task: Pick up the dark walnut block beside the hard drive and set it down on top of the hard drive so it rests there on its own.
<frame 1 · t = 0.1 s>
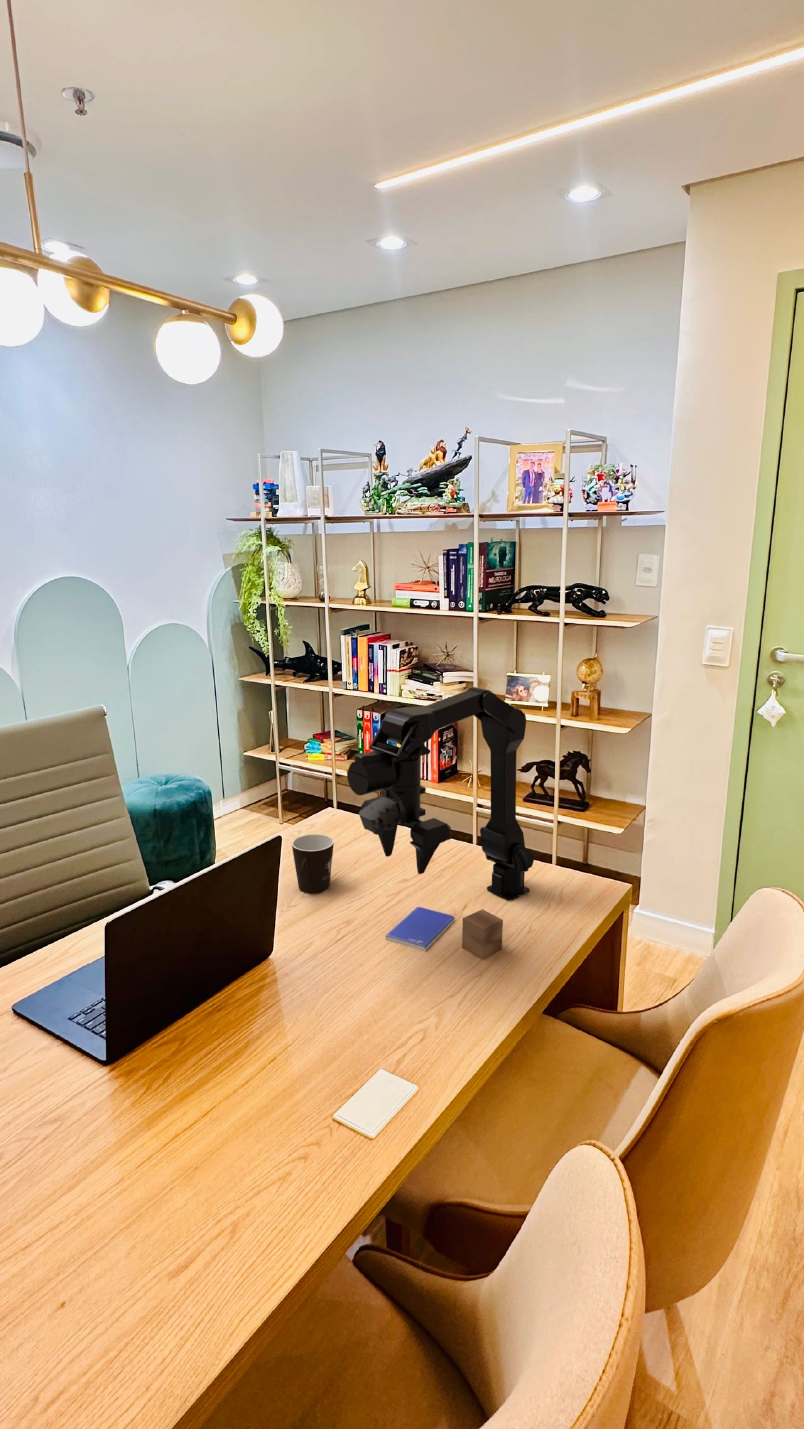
hand: (404, 864, 139), 15 cm above the table, tool pointing down, fingers open, 9 cm apart
hard drive: (420, 933, 145), on the table
walnut block: (481, 949, 139), on the table
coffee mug: (309, 890, 161), on the table
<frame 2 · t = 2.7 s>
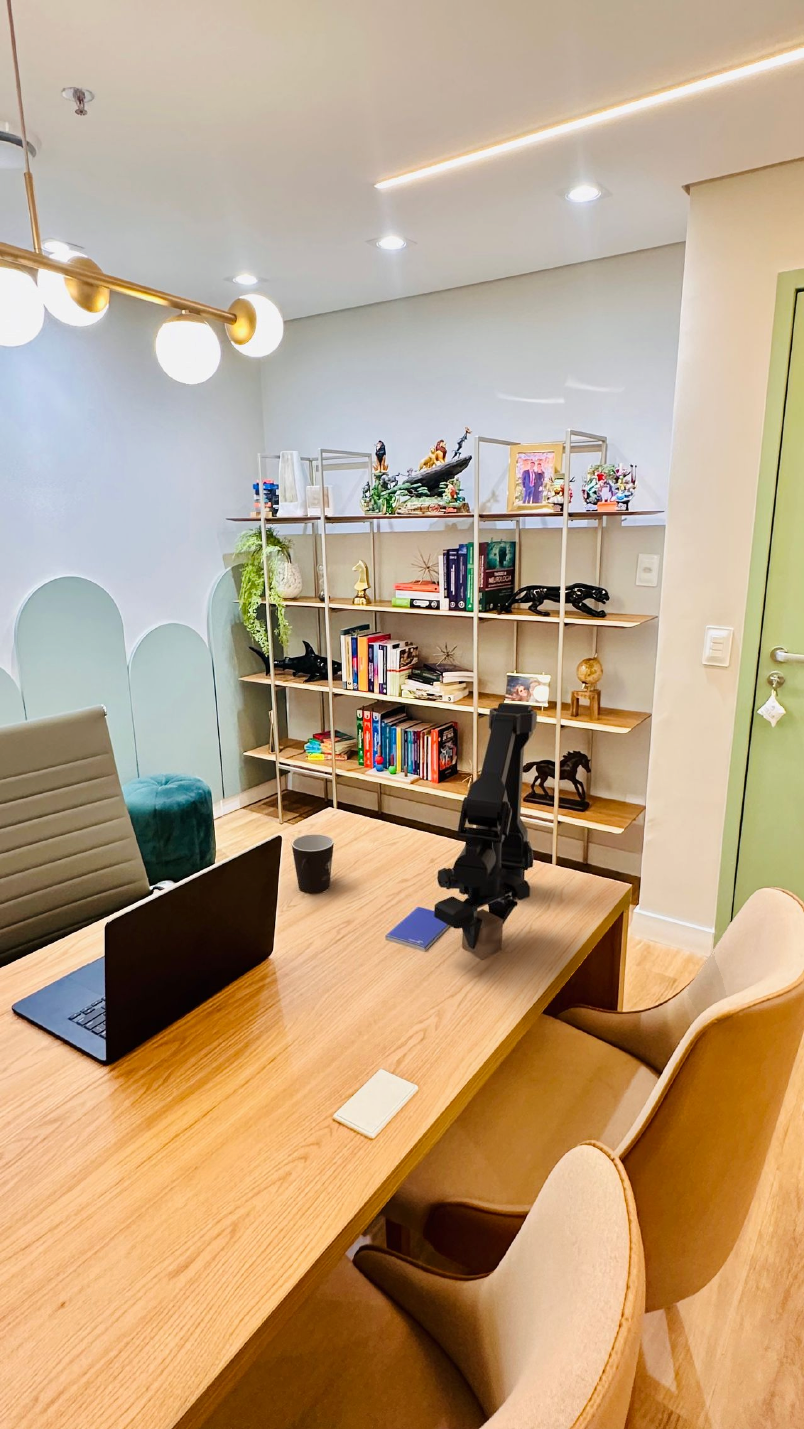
hand: (482, 942, 138), 1 cm above the table, tool pointing down, fingers closed on walnut block, 5 cm apart
walnut block: (482, 948, 139), on the table, touching gripper
everything else where it was.
when the fingers open (4 cm above the table, at t = 7.0 s): walnut block drops 2 cm, point 1 cm above the table.
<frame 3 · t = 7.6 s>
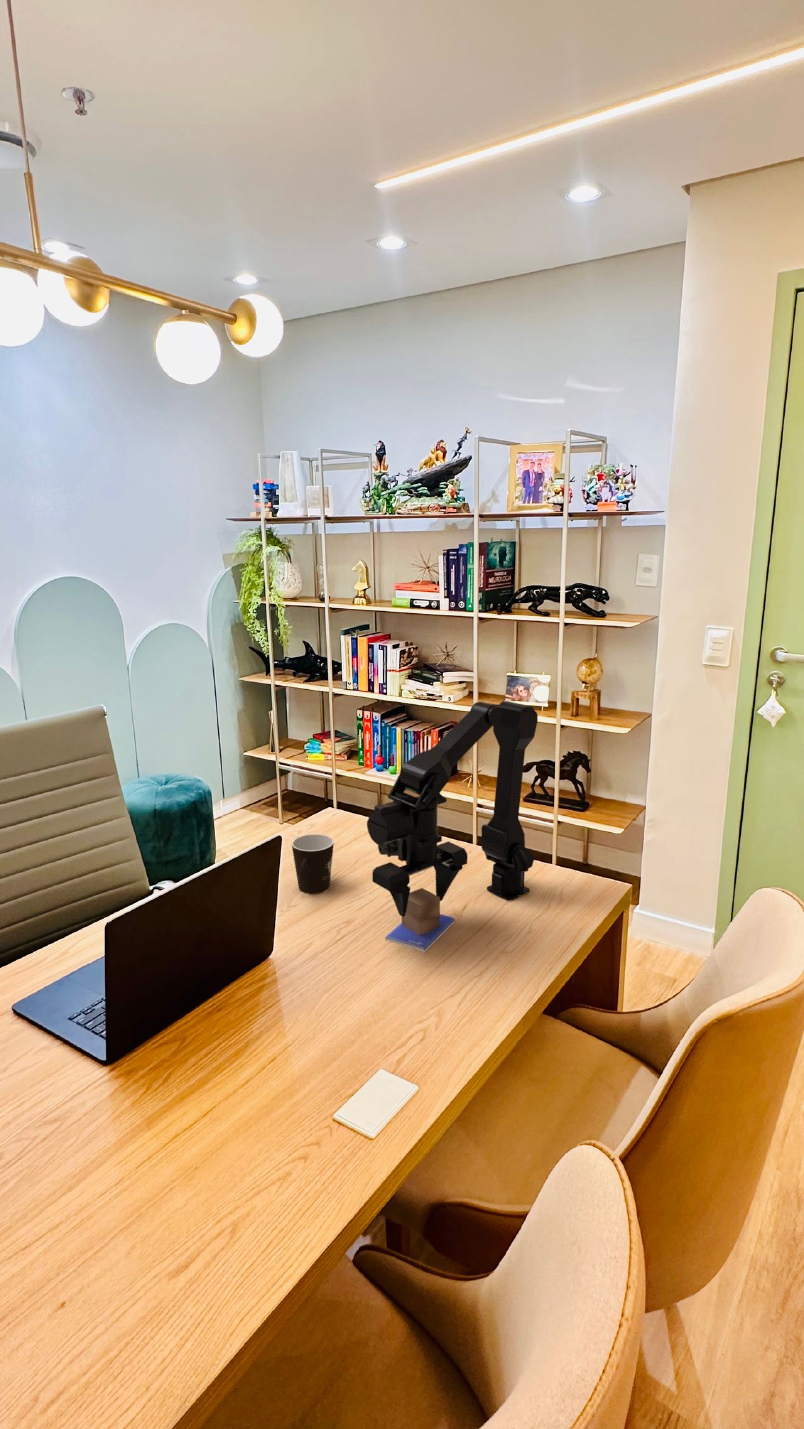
hand: (421, 907, 144), 4 cm above the table, tool pointing down, fingers open, 9 cm apart
walnut block: (420, 925, 145), point 1 cm above the table
everything else where it was.
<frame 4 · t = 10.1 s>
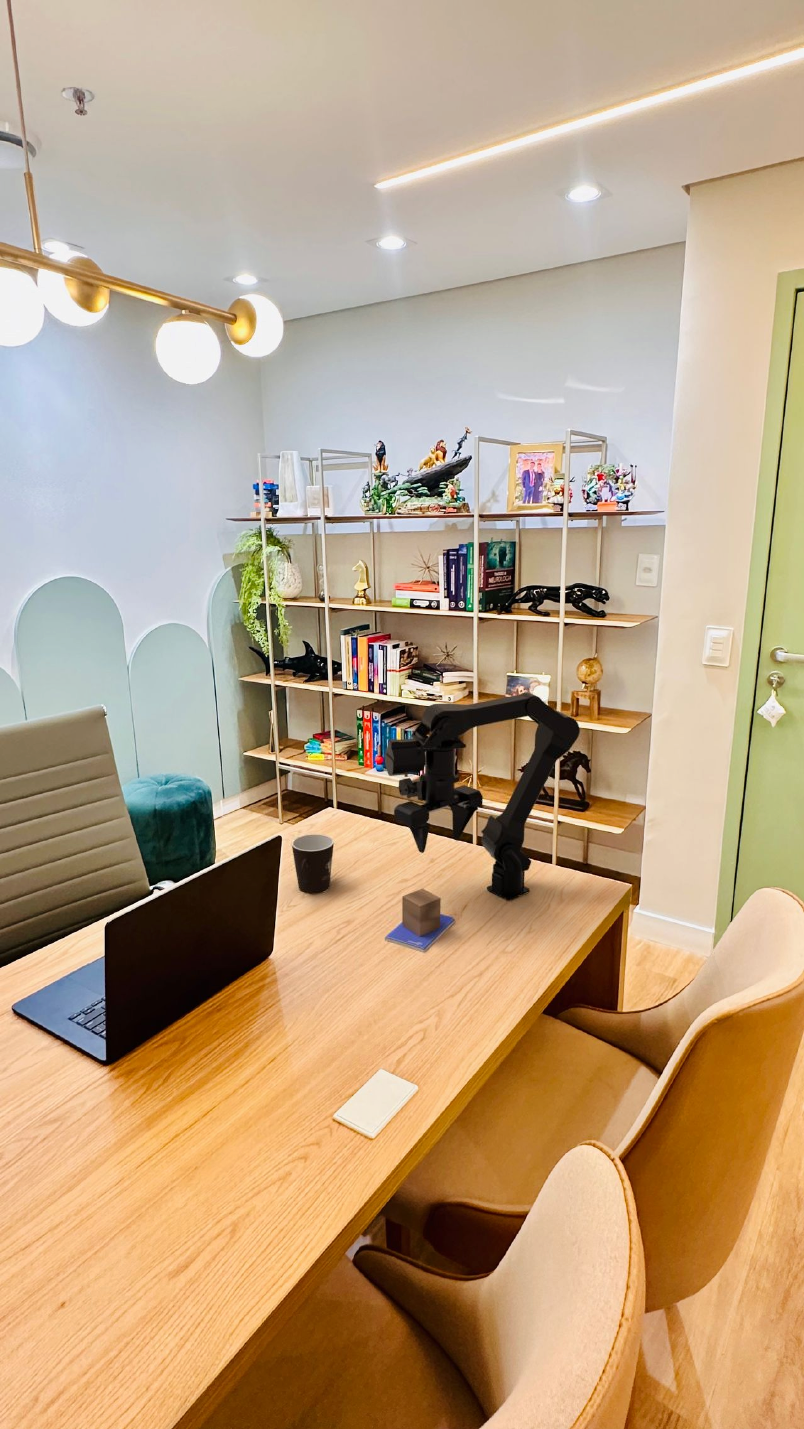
hand: (438, 845, 153), 12 cm above the table, tool pointing down, fingers open, 9 cm apart
hard drive: (420, 935, 145), on the table, touching walnut block
walnut block: (421, 926, 144), point 1 cm above the table, touching hard drive
everything else where it was.
at the end: walnut block 0.1 cm off-centre on the hard drive, point 1.8 cm above the hard drive's base; walnut block tilted 1°; the gripper is holding nothing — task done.
